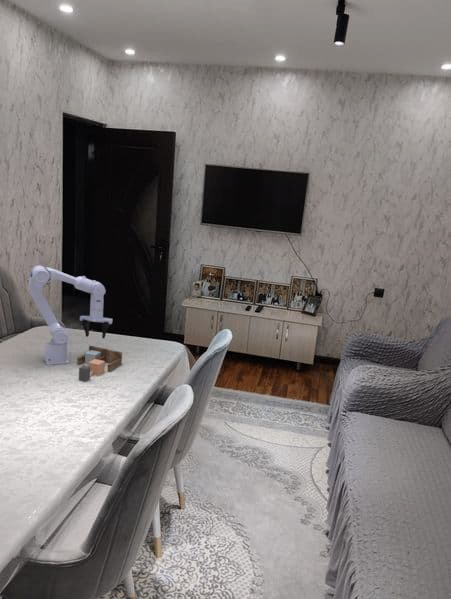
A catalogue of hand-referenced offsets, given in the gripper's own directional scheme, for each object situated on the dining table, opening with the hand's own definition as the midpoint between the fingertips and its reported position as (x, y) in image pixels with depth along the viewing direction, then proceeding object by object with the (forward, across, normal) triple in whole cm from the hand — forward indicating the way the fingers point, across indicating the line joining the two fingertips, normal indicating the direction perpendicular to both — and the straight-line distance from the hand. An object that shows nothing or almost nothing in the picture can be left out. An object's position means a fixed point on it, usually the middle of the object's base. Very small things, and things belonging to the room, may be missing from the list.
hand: (95, 336), depth 214 cm
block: (+10, +1, -6) cm, 12 cm away
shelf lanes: (+10, +4, -8) cm, 14 cm away
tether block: (+10, +5, -21) cm, 24 cm away
